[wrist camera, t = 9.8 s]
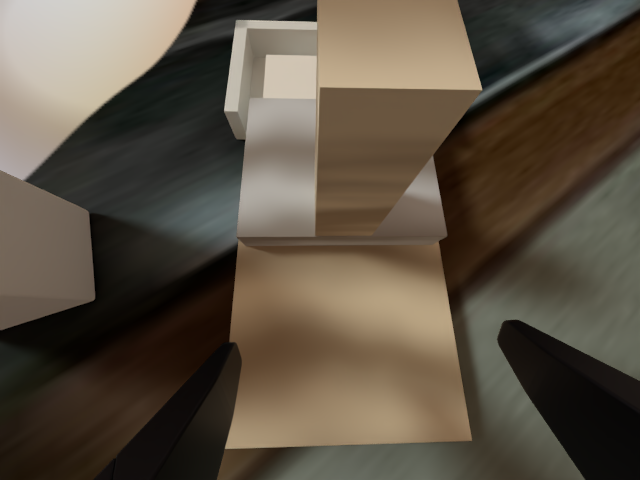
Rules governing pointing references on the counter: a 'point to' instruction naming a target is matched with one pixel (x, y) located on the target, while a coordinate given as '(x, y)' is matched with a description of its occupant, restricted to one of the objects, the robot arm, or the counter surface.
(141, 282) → the counter surface
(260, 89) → the tray
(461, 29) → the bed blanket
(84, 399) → the counter surface
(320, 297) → the board
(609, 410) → the robot arm
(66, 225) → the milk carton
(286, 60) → the tile
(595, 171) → the counter surface
